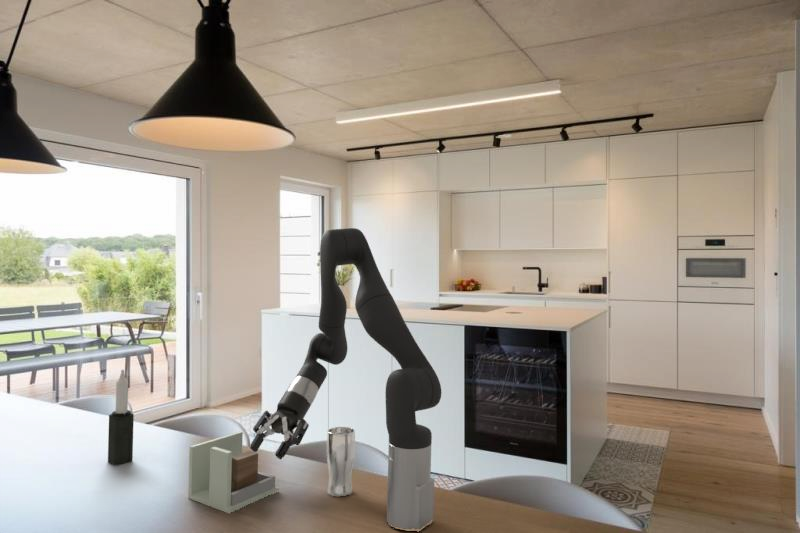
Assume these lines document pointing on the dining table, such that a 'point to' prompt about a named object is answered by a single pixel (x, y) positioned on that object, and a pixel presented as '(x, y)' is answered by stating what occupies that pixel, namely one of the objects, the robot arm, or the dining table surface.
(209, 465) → the sage green display stand
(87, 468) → the dining table surface
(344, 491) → the beer glass
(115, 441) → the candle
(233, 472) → the brown wooden block
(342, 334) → the robot arm
